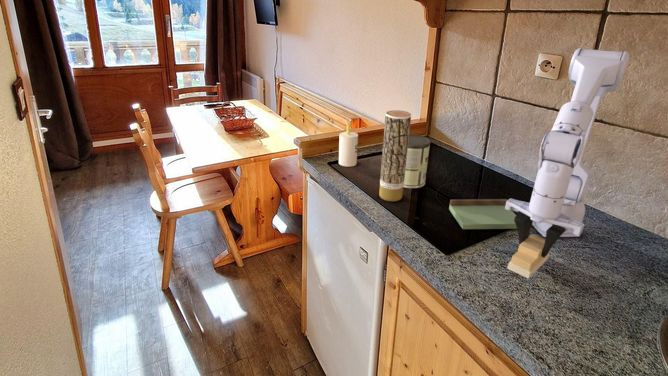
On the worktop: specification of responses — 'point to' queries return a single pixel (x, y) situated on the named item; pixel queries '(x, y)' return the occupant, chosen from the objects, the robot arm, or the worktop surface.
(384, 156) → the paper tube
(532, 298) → the worktop surface
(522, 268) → the wooden step block
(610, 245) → the worktop surface
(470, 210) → the green board
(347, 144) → the candle
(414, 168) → the coffee can
